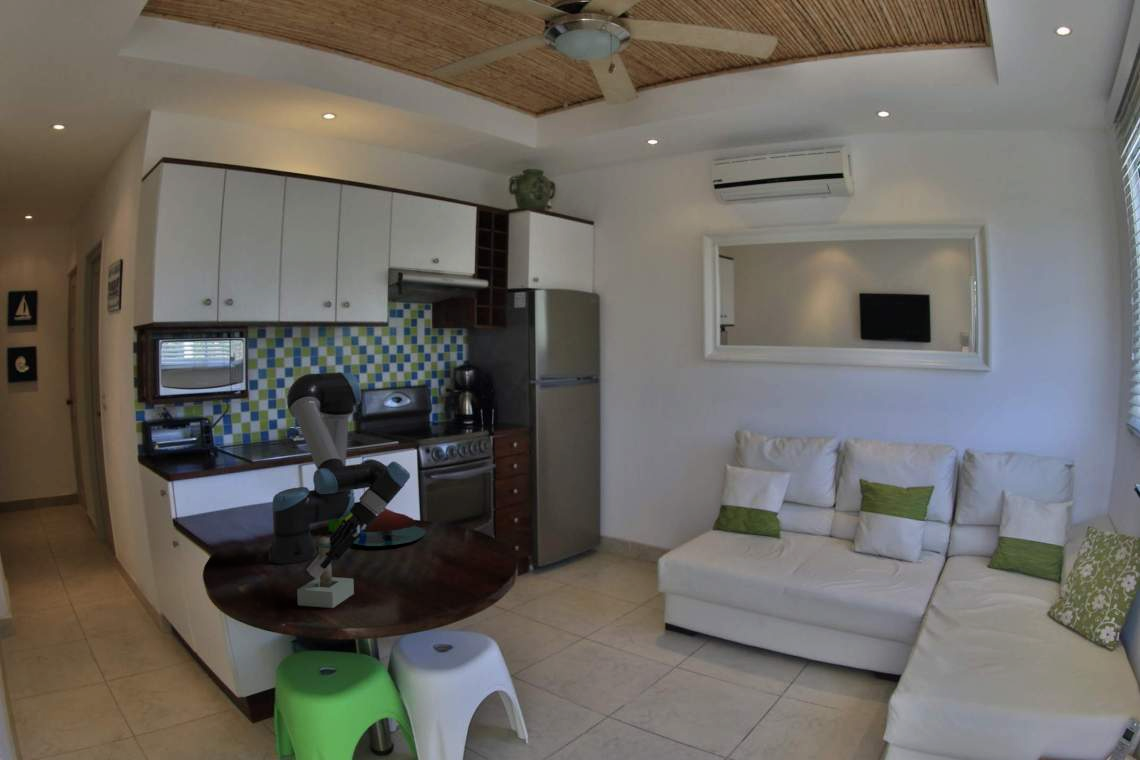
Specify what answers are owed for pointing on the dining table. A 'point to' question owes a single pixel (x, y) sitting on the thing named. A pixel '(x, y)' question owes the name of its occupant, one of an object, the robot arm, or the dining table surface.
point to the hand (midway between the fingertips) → (311, 574)
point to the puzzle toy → (335, 523)
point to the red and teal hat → (389, 530)
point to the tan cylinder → (323, 548)
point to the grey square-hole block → (325, 593)
